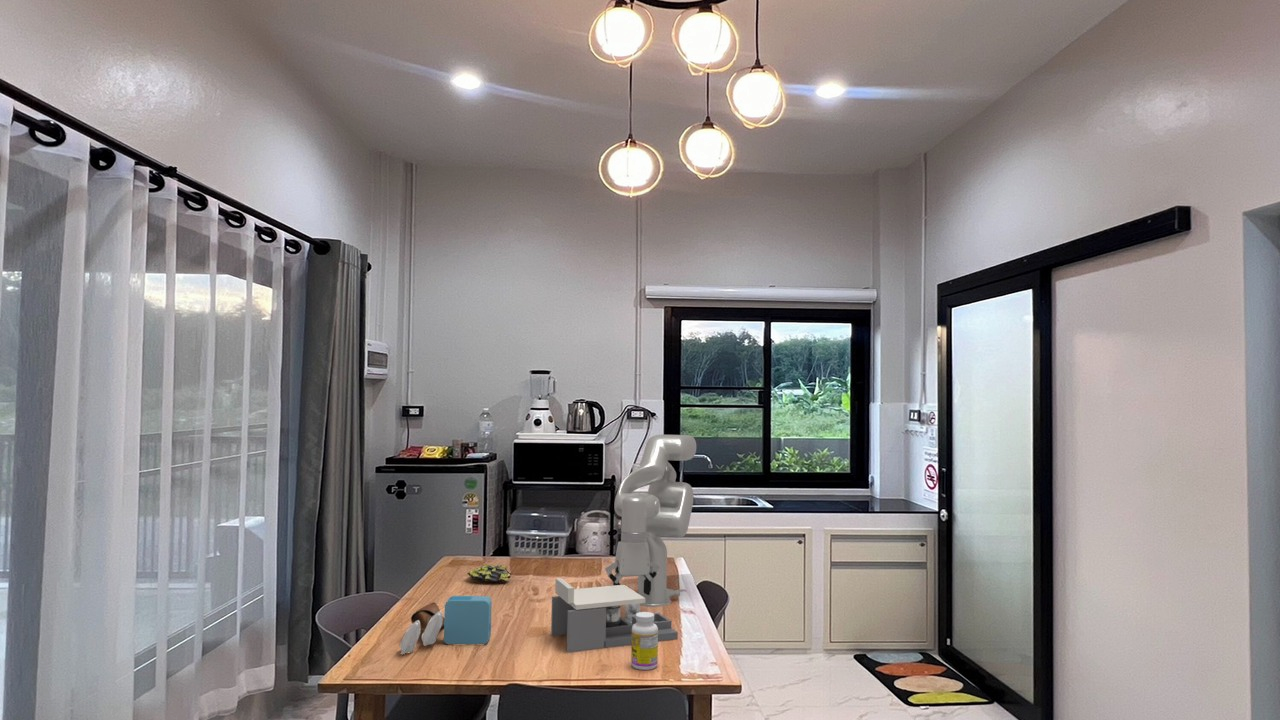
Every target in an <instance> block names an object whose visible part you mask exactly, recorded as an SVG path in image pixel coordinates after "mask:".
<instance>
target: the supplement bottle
mask: <svg viewBox="0 0 1280 720" xmlns="http://www.w3.org/2000/svg"><path fill="white" fill-rule="evenodd" d="M636 621H637V623H635V624H634V625H633V626H632V645H631V653H630V655H631V656H630V657H631V659H630V663H631V667H632V668H634V669H636V670H640V671H648V670H649V671H650V670H653V669H656V668H657V666H658V661H659V660H658V653H659V652H658V651H659V649H658V647H659V642H658V627H657V625H656V624H654V623H653V621H654V613H653V612H649V611H640V612H639V613H637V614H636Z"/></svg>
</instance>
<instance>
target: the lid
mask: <svg viewBox="0 0 1280 720" xmlns="http://www.w3.org/2000/svg"><path fill="white" fill-rule="evenodd" d="M554 584H555V587H554V588H555V590H554V591H555V594H556V596H560V597H561V598H562V599H563V600H564V601H565V602H567V603H568V604H570V605H571V606H572V607H573V608H575V609H576V610H578V609H589V608H598V607H608V606H618V605H621V606H626V605H628V604H638V603H645V598H644V597H643V596H641V595H639V594H638V592H637V591H635V590H633V589H632V588H630V587H628V586H627V585H625V584H620V585H615V586H613V585H605V586H594V587H593V586H592V587H583V588H582V587H581V588H575V587H573V586H572V585H571V584H570V583H568V582H567V581H565V579H563V578H562V577H556V578H555V583H554Z"/></svg>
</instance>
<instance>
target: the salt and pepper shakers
mask: <svg viewBox="0 0 1280 720" xmlns="http://www.w3.org/2000/svg"><path fill="white" fill-rule="evenodd" d="M442 616H443V612H442V610H440V611H439V612H437V613H436V614H435V615H434V616H433V617H432V618H431V619H430V621H429V623H428V625H427V627H426V629H425V631H423V633H422V634H421V629H420V621H419V620H417V621H415V622H414V623H411V624H410V626H409V627H408V628H407V630H406V632H405V633H404V636H403V638H402V640H401V642H400V643H399V649H400V650H401V652H400V655H401V654H404V655H406V654H409V653H408V652H411V653H412V651H413V652H414V651H415V648H416V645H417V643H418V640H419V637H420V636H421V640H422V645H423V646H425V647H426V646H428V645H429V646H430V645H434V643H436V641H437V638H438V636H439V633H440V631H441V629H440V628H441V626H442ZM405 653H406V654H405Z"/></svg>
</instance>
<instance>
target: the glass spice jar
mask: <svg viewBox="0 0 1280 720" xmlns="http://www.w3.org/2000/svg"><path fill="white" fill-rule="evenodd" d="M621 607H622V605H618V606H608V607H606V628H607V627H616V626H620V617H621V609H622V608H621Z"/></svg>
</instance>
